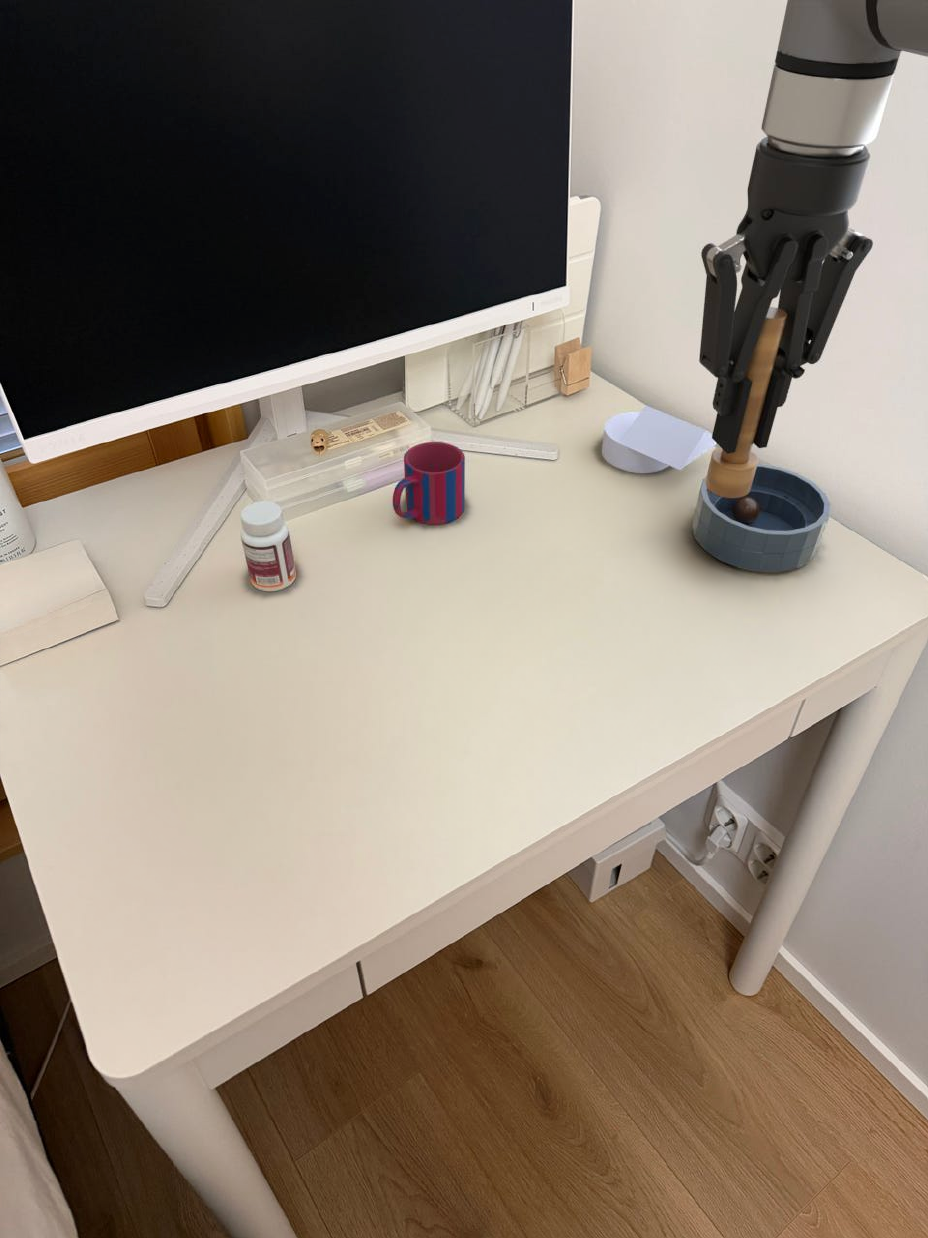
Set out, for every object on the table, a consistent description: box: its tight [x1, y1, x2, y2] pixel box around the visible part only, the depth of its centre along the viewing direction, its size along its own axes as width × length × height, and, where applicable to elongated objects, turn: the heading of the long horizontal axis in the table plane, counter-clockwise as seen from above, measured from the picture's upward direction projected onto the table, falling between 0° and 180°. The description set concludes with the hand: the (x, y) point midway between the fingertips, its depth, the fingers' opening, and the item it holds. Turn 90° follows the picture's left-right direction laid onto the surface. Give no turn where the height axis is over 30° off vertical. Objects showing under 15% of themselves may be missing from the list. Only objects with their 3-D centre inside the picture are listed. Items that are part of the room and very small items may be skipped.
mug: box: [392, 441, 466, 526], centre depth 96 cm, size 7×10×7 cm
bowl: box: [691, 462, 832, 573], centre depth 93 cm, size 13×13×6 cm
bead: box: [732, 496, 760, 524], centre depth 95 cm, size 3×3×3 cm
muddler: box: [705, 306, 787, 498], centre depth 72 cm, size 4×4×16 cm
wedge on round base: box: [601, 404, 718, 474], centre depth 105 cm, size 9×7×13 cm
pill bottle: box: [239, 500, 297, 592], centre depth 87 cm, size 5×5×8 cm
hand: (739, 441), depth 75 cm, fingers closed on muddler, 2 cm apart
